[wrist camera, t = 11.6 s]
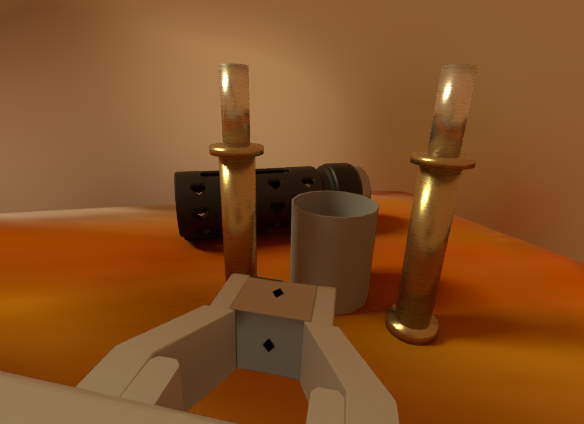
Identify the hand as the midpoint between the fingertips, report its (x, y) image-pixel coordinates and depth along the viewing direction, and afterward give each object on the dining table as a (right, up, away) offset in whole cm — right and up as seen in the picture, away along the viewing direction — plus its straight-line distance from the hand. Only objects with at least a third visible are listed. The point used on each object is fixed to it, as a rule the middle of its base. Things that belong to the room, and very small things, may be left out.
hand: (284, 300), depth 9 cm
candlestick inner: (-5, -7, +22) cm, 23 cm away
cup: (+4, -6, +24) cm, 26 cm away
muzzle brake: (-2, -1, +39) cm, 40 cm away
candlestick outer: (+11, -8, +19) cm, 23 cm away
